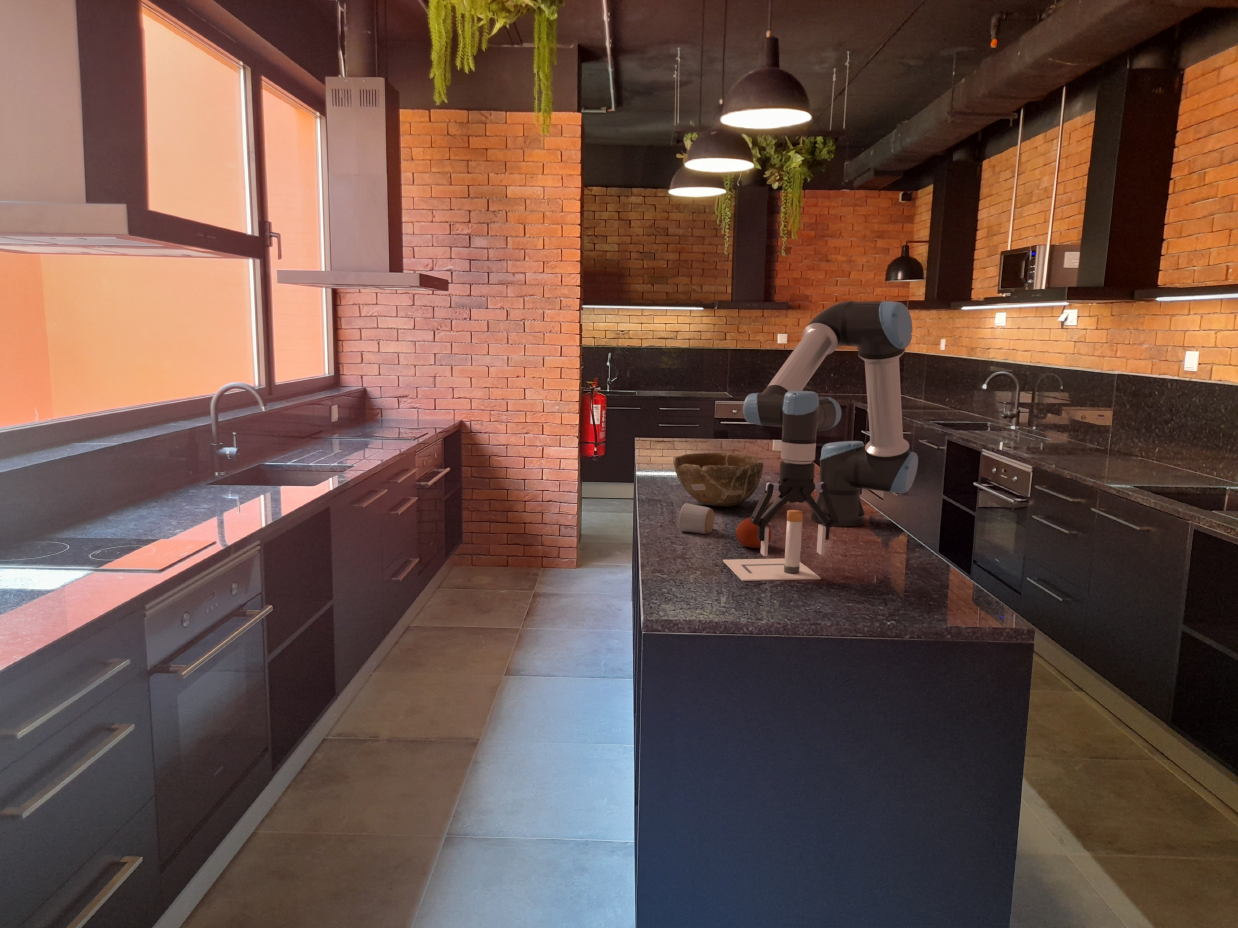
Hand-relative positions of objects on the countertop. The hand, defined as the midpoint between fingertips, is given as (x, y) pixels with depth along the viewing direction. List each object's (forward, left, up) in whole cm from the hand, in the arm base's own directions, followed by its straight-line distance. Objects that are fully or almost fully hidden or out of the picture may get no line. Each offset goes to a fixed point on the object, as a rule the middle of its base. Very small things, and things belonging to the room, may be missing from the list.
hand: (792, 554), depth 191 cm
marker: (0, 0, -4) cm, 4 cm away
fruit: (+2, -23, -5) cm, 24 cm away
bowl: (-2, -72, -5) cm, 72 cm away
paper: (+4, -3, -4) cm, 7 cm away
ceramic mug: (+12, -40, -5) cm, 42 cm away
